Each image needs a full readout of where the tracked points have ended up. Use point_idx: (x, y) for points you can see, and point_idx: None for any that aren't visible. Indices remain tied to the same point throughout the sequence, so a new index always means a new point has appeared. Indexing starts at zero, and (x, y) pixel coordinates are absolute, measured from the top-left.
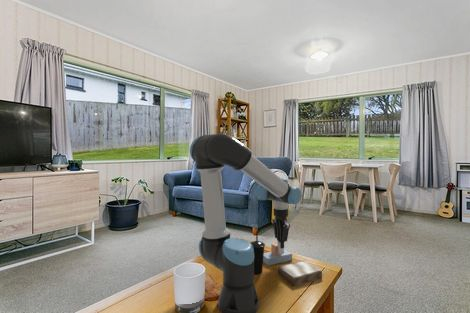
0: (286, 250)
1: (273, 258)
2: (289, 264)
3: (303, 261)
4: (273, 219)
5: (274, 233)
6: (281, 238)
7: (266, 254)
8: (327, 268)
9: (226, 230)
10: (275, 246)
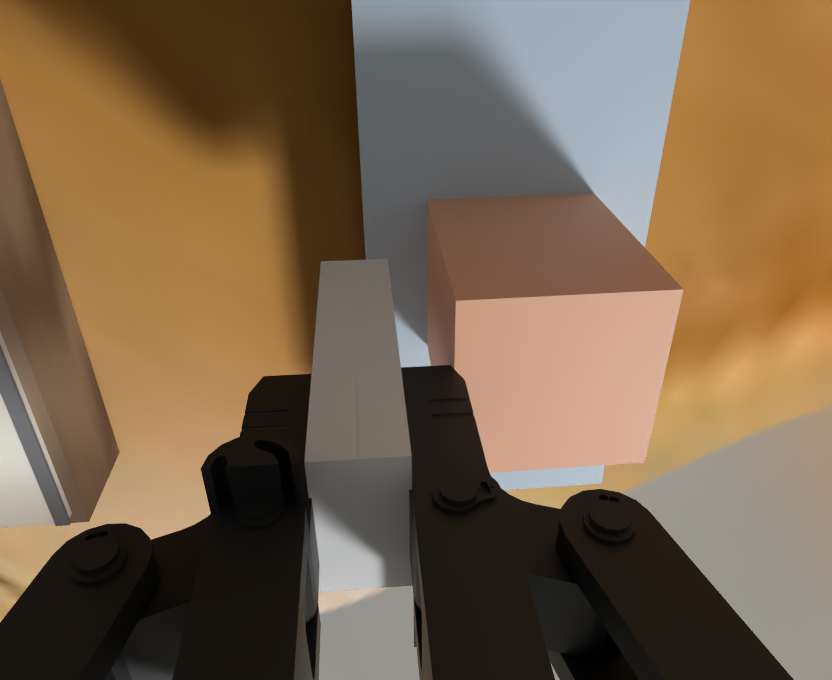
0: (533, 487)
1: (358, 95)
2: None
3: (33, 501)
4: None
5: (749, 630)
6: (192, 621)
7: (589, 38)
8: None
9: None
10: (458, 296)
